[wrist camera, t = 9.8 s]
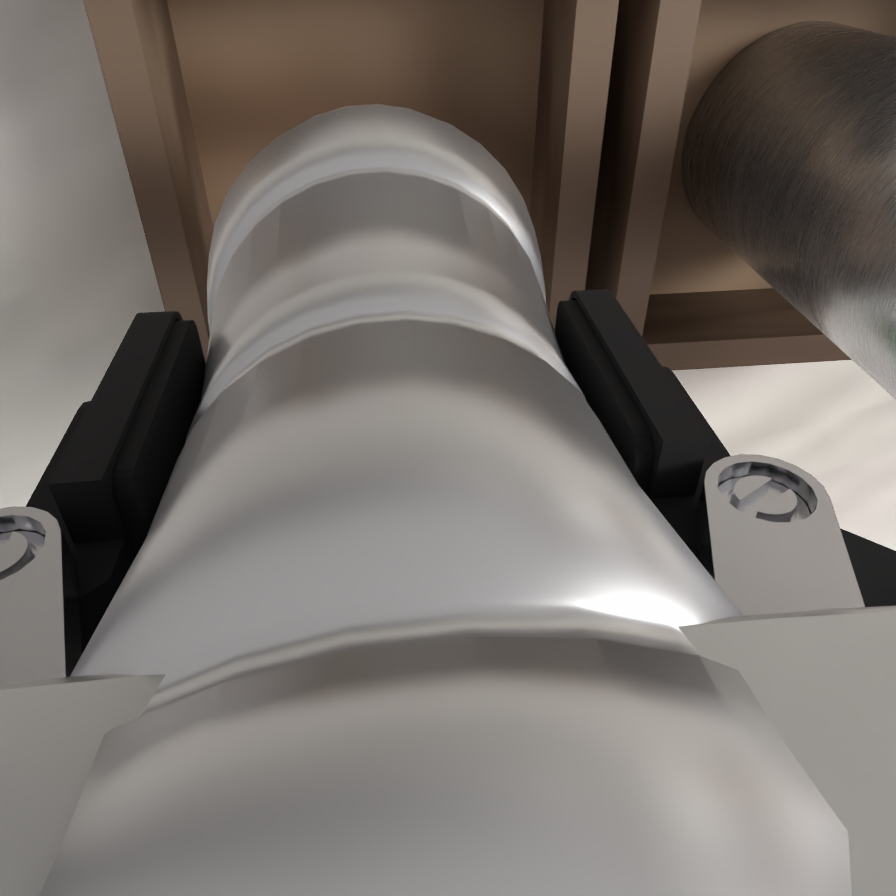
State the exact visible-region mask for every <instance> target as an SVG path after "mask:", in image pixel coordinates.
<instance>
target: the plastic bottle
mask: <svg viewBox="0 0 896 896" xmlns="http://www.w3.org/2000/svg"><path fill="white" fill-rule="evenodd" d="M207 309H208V324H209V331H210V338H209V345H208V352H207V359H206V366H205V373H204V380H203V387H202V394H201V401H200V404H199V406H198V409H197V411H196V414H195V416H194V418H193V421H192V423H191V426H190V428H189V431H188V433H187V436H186V441H185V445H184V447H183V449H182V451H181V453H180V455H179V457H178V459H177V461H176V463H175V466H174V468H173V471H172V474H171V476H170V479H169V481H168V484H167V486H166V489H165V491H164V494H163V496H162V499H161V501H160V504H159V506H158V509H157V511H156V514H155V517H154V519H153V522H152V524H151V527H150V529H149V532H148V534H147V537H146V539H145V541H144V543H143V545H142V547H141V548H140V550H139V552H138V554H137V556H136V557H135V559H134V561H133V563H132V565H131V567H130V568H129V570H128V572H127V574H126V576H125V577H124V579H123V581H122V583H121V585H120V586H119V588H118V590H117V592H116V594H115V596H114V597H113V599H112V601H111V603H110V605H109V606H108V608H107V610H106V612H105V614H104V615H103V617H102V619H101V621H100V623H99V625H98V626H97V628H96V630H95V632H94V634H93V635H92V637H91V639H90V641H89V643H88V644H87V646H86V648H85V650H84V652H83V653H82V655H81V657H80V659H79V661H78V663H77V664H76V666H75V668H74V670H73V672H72V673H71V675H70V677H74V676H84V675H100V674H125V675H133V676H141V675H159V674H166V675H165V677H164V678H163V680H162V682H161V683H160V685H159V687H158V688H157V690H156V692H155V693H154V695H153V697H152V698H151V700H150V701H149V703H148V705H147V706H146V708H145V710H144V711H143V713H142V715H141V716H140V717H139V718H136V719H134V720H131V721H129V722H126V723H124V724H122V725H119V726H117V727H114V728H113V729H111V730H110V731H108V732H107V733H105V734H104V736H103V739H102V741H101V744H100V746H99V749H98V752H97V754H96V757H95V760H94V762H93V765H92V767H91V770H90V773H89V775H88V778H87V780H86V783H85V786H84V788H83V791H82V794H81V796H80V799H79V801H78V804H77V807H76V809H75V812H74V815H73V817H72V820H71V822H70V825H69V828H68V830H67V833H66V835H65V837H64V840H63V842H62V845H61V847H60V849H59V852H58V854H57V856H56V859H55V861H54V863H53V865H52V868H51V870H50V872H49V875H48V877H47V879H46V881H45V884H44V886H43V888H42V890H41V893H40V895H39V896H852V889H851V872H850V856H849V839H848V831H847V829H846V828H845V827H844V825H843V824H842V823H841V821H840V820H839V818H838V817H837V816H836V814H835V813H834V811H833V810H832V809H831V807H830V806H829V804H828V803H827V802H826V800H825V799H824V798H823V796H822V795H821V793H820V792H819V790H818V789H817V788H816V786H815V785H814V783H813V782H812V781H811V779H810V778H809V776H808V775H807V773H806V772H805V771H804V769H803V768H802V766H801V765H800V764H799V762H798V761H797V759H796V758H795V756H794V755H793V754H792V752H791V751H790V749H789V748H788V746H787V745H786V743H785V742H784V740H783V739H782V737H781V736H780V734H779V733H778V731H777V730H776V728H775V727H774V725H773V724H772V722H771V721H770V719H769V717H768V716H767V714H766V713H765V711H764V710H763V708H762V707H761V705H760V704H759V702H758V700H757V699H756V697H755V696H754V694H753V692H752V691H751V689H750V688H749V686H748V685H747V683H746V681H745V680H744V678H743V677H742V675H741V673H740V672H739V670H737V669H734V668H732V667H729V666H726V665H724V664H721V663H718V662H716V661H713V660H710V659H707V658H705V657H702V656H701V655H700V654H699V652H698V651H697V650H696V649H695V648H694V646H693V645H692V644H691V643H690V641H689V640H688V639H687V638H686V636H685V635H684V634H683V633H682V631H681V630H680V629H679V628H678V626H687V625H697V624H703V623H706V622H709V621H713V620H717V619H723V618H728V617H733V616H743V615H742V614H741V613H740V612H739V610H738V609H737V608H736V607H735V605H734V604H733V603H732V602H731V600H730V599H729V598H728V597H727V595H726V594H725V593H724V592H723V590H722V589H721V588H720V587H719V585H718V584H717V583H716V582H715V580H714V579H713V578H712V576H711V575H710V574H709V573H708V571H707V570H706V569H705V568H704V566H703V565H702V564H701V563H700V561H699V560H698V559H697V558H696V556H695V555H694V554H693V553H692V551H691V550H690V549H689V548H688V546H687V545H686V544H685V543H684V541H683V540H682V539H681V538H680V536H679V535H678V534H677V533H676V531H675V530H674V529H673V528H672V526H671V525H670V524H669V523H668V521H667V520H666V519H665V518H664V516H663V515H662V514H661V513H660V511H659V510H658V509H657V508H656V506H655V505H654V504H653V503H652V501H651V500H650V499H649V498H648V496H647V495H646V494H645V493H644V491H643V490H642V489H641V487H640V486H639V485H638V483H637V482H636V480H635V478H634V477H633V475H632V473H631V472H630V470H629V469H628V467H627V465H626V464H625V462H624V460H623V459H622V457H621V455H620V454H619V452H618V450H617V449H616V447H615V445H614V444H613V442H612V440H611V439H610V437H609V435H608V434H607V432H606V430H605V429H604V427H603V425H602V424H601V422H600V420H599V419H598V418H597V416H596V415H595V413H594V412H593V410H592V409H591V408H590V406H589V405H588V403H587V401H586V398H585V396H584V394H583V392H582V391H581V389H580V388H579V386H578V384H577V383H576V381H575V379H574V378H573V376H572V375H571V373H570V371H569V370H568V368H567V366H566V365H565V361H564V358H563V355H562V352H561V349H560V346H559V343H558V340H557V336H556V333H555V330H554V327H553V324H552V321H551V318H550V315H549V312H548V308H547V305H546V293H545V282H544V275H543V268H542V261H541V255H540V251H539V247H538V242H537V238H536V234H535V230H534V226H533V224H532V221H531V218H530V215H529V213H528V210H527V207H526V204H525V202H524V199H523V197H522V195H521V194H520V192H519V190H518V189H517V187H516V185H515V184H514V182H513V181H512V179H511V177H510V176H509V174H508V173H507V171H506V169H505V168H504V167H503V166H502V165H501V164H500V163H499V162H498V161H497V160H496V159H495V158H494V157H493V156H492V155H491V154H490V153H489V152H488V151H487V150H486V149H485V148H484V147H483V146H482V145H481V144H480V143H479V142H477V141H476V140H474V139H472V138H471V137H469V136H468V135H466V134H465V133H463V132H462V131H460V130H459V129H457V128H456V127H454V126H453V125H451V124H449V123H446V122H443V121H441V120H438V119H436V118H433V117H430V116H428V115H425V114H423V113H420V112H417V111H415V110H412V109H409V108H402V107H395V106H389V105H382V104H369V105H355V106H345V107H342V108H338V109H335V110H332V111H328V112H325V113H322V114H318V115H315V116H314V117H312V118H310V119H308V120H306V121H304V122H303V123H301V124H299V125H297V126H296V127H294V128H292V129H290V130H288V131H287V132H285V133H283V134H281V135H280V136H278V137H276V138H275V139H274V140H273V141H272V142H270V143H269V144H268V145H267V146H266V147H265V148H264V149H263V150H262V151H260V152H259V153H258V154H257V155H256V156H255V157H254V158H253V159H252V160H250V161H249V162H248V164H247V165H246V167H245V168H244V169H243V171H242V172H241V174H240V175H239V176H238V178H237V179H236V181H235V182H234V184H233V185H232V186H231V188H230V189H229V191H228V193H227V195H226V197H225V200H224V202H223V205H222V207H221V209H220V212H219V214H218V216H217V219H216V221H215V224H214V230H213V235H212V241H211V246H210V251H209V259H208V275H207Z"/></svg>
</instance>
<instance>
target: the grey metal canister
mask: <svg viewBox="0 0 896 896" xmlns="http://www.w3.org/2000/svg"><path fill="white" fill-rule="evenodd" d="M681 170H682V181H683V187H684V190H685V194H686V197H687V200H688V202H689V204H690V206H691V209H692V210H693V212H694V213H695V215H696V216H697V218H698V219H699V220H700V221H701V222H702V223H703V224H704V225H705V226H706V227H707V228H708V229H709V230H710V231H711V232H713V233H714V234H715V235H716V236H717V237H718V238H719V239H720V240H721V241H722V242H723V243H725V244H726V245H727V246H728V247H729V248H730V249H731V250H732V251H733V252H734V253H736V254H737V255H738V256H739V257H740V258H741V259H742V260H743V261H744V262H745V263H746V264H748V265H749V266H750V267H751V268H752V269H753V270H754V271H755V272H756V273H757V274H759V275H760V276H761V277H762V278H763V279H764V280H765V281H766V282H767V283H768V284H770V285H771V286H772V287H773V288H774V289H775V290H776V291H777V292H778V293H779V294H780V295H782V296H783V297H784V298H785V299H786V300H787V301H788V302H789V303H790V304H791V305H793V306H794V307H795V308H796V309H797V310H798V311H799V312H800V313H801V314H802V315H804V316H805V317H806V318H807V319H808V320H809V321H810V322H811V323H812V324H813V325H814V326H816V327H817V328H818V329H819V330H820V331H821V332H822V333H823V334H824V335H825V336H827V337H828V338H829V339H830V340H831V341H832V342H833V343H834V344H835V345H836V346H838V347H839V348H840V349H841V350H842V351H843V352H844V353H845V354H846V355H847V356H848V357H850V358H851V359H852V360H853V361H854V362H855V363H856V364H857V365H858V366H859V367H861V368H862V369H863V370H864V371H865V372H866V373H867V374H868V375H869V376H870V377H871V378H873V379H874V380H875V381H876V382H877V383H878V384H879V385H880V386H881V387H882V388H884V389H885V390H886V391H887V392H888V393H889V394H890V395H891V396H892V397H893V398H895V399H896V37H892V36H888V35H884V34H880V33H876V32H872V31H868V30H864V29H860V28H856V27H852V26H848V25H843V24H839V23H835V22H831V21H807V22H800V23H796V24H792V25H788V26H785V27H782V28H780V29H777V30H775V31H772V32H770V33H768V34H766V35H765V36H763V37H761V38H759V39H757V40H756V41H754V42H753V43H751V44H750V45H749V46H747V47H746V48H744V49H743V50H742V51H741V52H739V53H738V54H737V55H736V56H735V57H734V58H733V59H731V60H730V61H729V62H728V63H727V65H726V66H725V67H724V68H723V69H722V70H721V71H720V72H719V73H718V74H717V76H716V77H715V78H714V80H713V81H712V82H711V83H710V85H709V86H708V88H707V89H706V91H705V92H704V94H703V96H702V97H701V99H700V101H699V103H698V105H697V107H696V109H695V111H694V113H693V115H692V117H691V120H690V123H689V126H688V128H687V132H686V136H685V140H684V144H683V151H682V159H681Z"/></svg>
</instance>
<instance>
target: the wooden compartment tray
mask: <svg viewBox="0 0 896 896" xmlns="http://www.w3.org/2000/svg"><path fill="white" fill-rule="evenodd" d="M84 4H85V8H86V12H87V15H88V19H89V23H90V27H91V31H92V34H93V38H94V42H95V46H96V50H97V53H98V57H99V61H100V65H101V69H102V72H103V76H104V80H105V84H106V88H107V91H108V95H109V99H110V103H111V107H112V110H113V114H114V118H115V122H116V126H117V129H118V133H119V137H120V141H121V145H122V148H123V152H124V156H125V160H126V164H127V167H128V171H129V175H130V179H131V183H132V186H133V190H134V194H135V198H136V202H137V205H138V209H139V213H140V217H141V221H142V224H143V228H144V232H145V236H146V240H147V243H148V247H149V251H150V255H151V259H152V262H153V266H154V270H155V274H156V278H157V281H158V285H159V289H160V293H161V297H162V300H163V304H164V308H165V312H169V311H178V312H179V313H180V314H181V317H182V319H183V321H184V320H193V321H194V322H195V324H196V326H197V329H198V333H199V337H200V341H201V346H202V350H203V354H204V358H205V362H206V359H207V352H208V345H209V338H210V331H209V324H208V309H207V275H208V259H209V251H210V246H211V241H212V235H213V230H214V224H215V221H216V219H217V216H218V214H219V212H220V209H221V207H222V205H223V202H224V200H225V197H226V195H227V193H228V191H229V189H230V188H231V186H232V185H233V184H234V182H235V181H236V179H237V178H238V176H239V175H240V174H241V172H242V171H243V169H244V168H245V167H246V165H247V164H248V162H249V161H250V160H252V159H253V158H254V157H255V156H256V155H257V154H258V153H259V152H260V151H262V150H263V149H264V148H265V147H266V146H267V145H268V144H269V143H270V142H272V141H273V140H274V139H275V138H276V137H278V136H280V135H281V134H283V133H285V132H287V131H288V130H290V129H292V128H294V127H296V126H297V125H299V124H301V123H303V122H304V121H306V120H308V119H310V118H312V117H314V116H315V115H318V114H322V113H325V112H328V111H332V110H335V109H338V108H342V107H345V106H355V105H369V104H382V105H389V106H395V107H402V108H409V109H412V110H415V111H417V112H420V113H423V114H425V115H428V116H430V117H433V118H436V119H438V120H441V121H443V122H446V123H449V124H451V125H453V126H454V127H456V128H457V129H459V130H460V131H462V132H463V133H465V134H466V135H468V136H469V137H471V138H472V139H474V140H476V141H477V142H479V143H480V144H481V145H482V146H483V147H484V148H485V149H486V150H487V151H488V152H489V153H490V154H491V155H492V156H493V157H494V158H495V159H496V160H497V161H498V162H499V163H500V164H501V165H502V166H503V167H504V168H505V169H506V171H507V173H508V174H509V176H510V177H511V179H512V181H513V182H514V184H515V185H516V187H517V189H518V190H519V192H520V194H521V195H522V197H523V199H524V202H525V204H526V207H527V210H528V213H529V215H530V218H531V221H532V224H533V226H534V230H535V234H536V238H537V242H538V247H539V251H540V255H541V261H542V268H543V275H544V282H545V293H546V305H547V308H548V312H549V315H550V318H551V321H552V324H553V327H554V330H555V324H556V314H557V307H558V303H559V302H560V301H567V300H569V298H570V295H571V293H572V291H580V290H600V289H609V290H610V291H611V292H612V293H613V295H614V296H615V298H616V299H617V301H618V302H619V304H620V305H621V307H622V308H623V310H624V311H625V313H626V314H627V316H628V317H629V318H630V320H631V321H632V323H633V324H634V326H635V327H636V329H637V330H638V332H639V333H640V335H641V336H642V338H643V339H644V341H645V342H646V344H647V345H648V347H649V348H650V350H651V351H652V353H653V354H654V356H655V357H656V358H657V360H658V361H659V363H660V364H661V366H663V367H668V368H669V369H670V370H687V369H704V368H720V367H737V366H754V365H770V364H787V363H804V362H820V361H837V360H852V359H851V358H850V357H848V356H847V355H846V354H845V353H844V352H843V351H842V350H841V349H840V348H839V347H838V346H836V345H835V344H834V343H833V342H832V341H831V340H830V339H829V338H828V337H827V336H825V335H824V334H823V333H822V332H821V331H820V330H819V329H818V328H817V327H816V326H814V325H813V324H812V323H811V322H810V321H809V320H808V319H807V318H806V317H805V316H804V315H802V314H801V313H800V312H799V311H798V310H797V309H796V308H795V307H794V306H793V305H791V304H790V303H789V302H788V301H787V300H786V299H785V298H784V297H783V296H782V295H780V294H779V293H778V292H777V291H776V290H775V289H774V288H773V287H772V286H771V285H770V284H768V283H767V282H766V281H765V280H764V279H763V278H762V277H761V276H760V275H759V274H757V273H756V272H755V271H754V270H753V269H752V268H751V267H750V266H749V265H748V264H746V263H745V262H744V261H743V260H742V259H741V258H740V257H739V256H738V255H737V254H736V253H734V252H733V251H732V250H731V249H730V248H729V247H728V246H727V245H726V244H725V243H723V242H722V241H721V240H720V239H719V238H718V237H717V236H716V235H715V234H714V233H713V232H711V231H710V230H709V229H708V228H707V227H706V226H705V225H704V224H703V223H702V222H701V221H700V220H699V219H698V218H697V216H696V215H695V213H694V212H693V210H692V209H691V206H690V204H689V202H688V200H687V197H686V194H685V190H684V187H683V181H682V170H681V159H682V151H683V144H684V140H685V136H686V132H687V128H688V126H689V123H690V120H691V117H692V115H693V113H694V111H695V109H696V107H697V105H698V103H699V101H700V99H701V97H702V96H703V94H704V92H705V91H706V89H707V88H708V86H709V85H710V83H711V82H712V81H713V80H714V78H715V77H716V76H717V74H718V73H719V72H720V71H721V70H722V69H723V68H724V67H725V66H726V65H727V63H728V62H729V61H730V60H731V59H733V58H734V57H735V56H736V55H737V54H738V53H739V52H741V51H742V50H743V49H744V48H746V47H747V46H749V45H750V44H751V43H753V42H754V41H756V40H757V39H759V38H761V37H763V36H765V35H766V34H768V33H770V32H772V31H775V30H777V29H780V28H782V27H785V26H788V25H792V24H796V23H800V22H807V21H831V22H835V23H839V24H843V25H848V26H852V27H856V28H860V29H864V30H868V31H872V32H876V33H880V34H884V35H888V36H892V37H896V0H84Z"/></svg>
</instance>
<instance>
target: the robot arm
mask: <svg viewBox="0 0 896 896" xmlns="http://www.w3.org/2000/svg"><path fill="white" fill-rule="evenodd" d="M555 333H556V336H557V340H558V343H559V346H560V349H561V352H562V355H563V358H564V361H565V365H566V366H567V368H568V370H569V371H570V373H571V375H572V376H573V378H574V379H575V381H576V383H577V384H578V386H579V388H580V389H581V391H582V392H583V394H584V396H585V398H586V401H587V403H588V405H589V406H590V408H591V409H592V410H593V412H594V413H595V415H596V416H597V418H598V419H599V420H600V422H601V424H602V425H603V427H604V429H605V430H606V432H607V434H608V435H609V437H610V439H611V440H612V442H613V444H614V445H615V447H616V449H617V450H618V452H619V454H620V455H621V457H622V459H623V460H624V462H625V464H626V465H627V467H628V469H629V470H630V472H631V473H632V475H633V477H634V478H635V480H636V482H637V483H638V485H639V486H640V487H641V489H642V490H643V491H644V493H645V494H646V495H647V496H648V498H649V499H650V500H651V501H652V503H653V504H654V505H655V506H656V508H657V509H658V510H659V511H660V513H661V514H662V515H663V516H664V518H665V519H666V520H667V521H668V523H669V524H670V525H671V526H672V528H673V529H674V530H675V531H676V533H677V534H678V535H679V536H680V538H681V539H682V540H683V541H684V543H685V544H686V545H687V546H688V548H689V549H690V550H691V551H692V553H693V554H694V555H695V556H696V558H697V559H698V560H699V561H700V563H701V564H702V565H703V566H704V568H705V569H706V570H707V571H708V573H709V574H710V575H711V576H712V578H713V579H714V580H715V582H716V583H717V584H718V585H719V587H720V588H721V589H722V590H723V592H724V593H725V594H726V595H727V597H728V598H729V599H730V600H731V602H732V603H733V604H734V605H735V607H736V608H737V609H738V610H739V612H740V613H741V614H742V615H743V616H733V617H728V618H723V619H717V620H713V621H709V622H706V623H703V624H697V625H687V626H678V628H679V629H680V630H681V631H682V633H683V634H684V635H685V636H686V638H687V639H688V640H689V641H690V643H691V644H692V645H693V646H694V648H695V649H696V650H697V651H698V652H699V654H700V655H701V656H702V657H705V658H707V659H710V660H713V661H716V662H718V663H721V664H724V665H726V666H729V667H732V668H734V669H737V670H739V672H740V673H741V675H742V677H743V678H744V680H745V681H746V683H747V685H748V686H749V688H750V689H751V691H752V692H753V694H754V696H755V697H756V699H757V700H758V702H759V704H760V705H761V707H762V708H763V710H764V711H765V713H766V714H767V716H768V717H769V719H770V721H771V722H772V724H773V725H774V727H775V728H776V730H777V731H778V733H779V734H780V736H781V737H782V739H783V740H784V742H785V743H786V745H787V746H788V748H789V749H790V751H791V752H792V754H793V755H794V756H795V758H796V759H797V761H798V762H799V764H800V765H801V766H802V768H803V769H804V771H805V772H806V773H807V775H808V776H809V778H810V779H811V781H812V782H813V783H814V785H815V786H816V788H817V789H818V790H819V792H820V793H821V795H822V796H823V798H824V799H825V800H826V802H827V803H828V804H829V806H830V807H831V809H832V810H833V811H834V813H835V814H836V816H837V817H838V818H839V820H840V821H841V823H842V824H843V825H844V827H845V828H846V829H847V831H848V839H849V856H850V872H851V889H852V896H896V551H894V550H892V549H889V548H887V547H884V546H882V545H879V544H877V543H875V542H872V541H870V540H867V539H865V538H862V537H860V536H857V535H855V534H853V533H850V532H848V531H845V530H843V529H840V527H839V524H838V521H837V517H836V514H835V511H834V508H833V505H832V502H831V499H830V497H829V495H828V493H827V492H826V490H825V488H824V486H823V485H822V484H821V483H820V482H818V481H817V480H816V479H815V478H814V477H813V476H812V475H811V474H809V473H807V472H806V471H804V470H802V469H801V468H799V467H797V466H796V465H793V464H790V463H788V462H785V461H782V460H780V459H777V458H772V457H767V456H762V455H746V454H740V455H735V456H730V454H729V453H728V451H727V450H726V448H725V447H724V446H723V444H722V443H721V441H720V440H719V438H718V437H717V435H716V434H715V433H714V431H713V430H712V428H711V427H710V425H709V424H708V422H707V421H706V420H705V418H704V417H703V415H702V414H701V412H700V411H699V409H698V408H697V406H696V405H695V404H694V402H693V401H692V399H691V398H690V396H689V395H688V393H687V392H686V391H685V389H684V388H683V386H682V385H681V383H680V382H679V380H678V379H677V377H676V376H675V375H674V373H673V372H672V371H671V370H670V369H669V368H668V367H663V366H661V364H660V363H659V361H658V360H657V358H656V357H655V356H654V354H653V353H652V351H651V350H650V348H649V347H648V345H647V344H646V342H645V341H644V339H643V338H642V336H641V335H640V333H639V332H638V330H637V329H636V327H635V326H634V324H633V323H632V321H631V320H630V318H629V317H628V316H627V314H626V313H625V311H624V310H623V308H622V307H621V305H620V304H619V302H618V301H617V299H616V298H615V296H614V295H613V293H612V292H611V291H610V290H609V289H600V290H580V291H572V293H571V295H570V298H569V300H567V301H560V302H559V303H558V307H557V314H556V324H555ZM205 366H206V362H205V358H204V354H203V350H202V346H201V341H200V337H199V333H198V329H197V326H196V324H195V322H194V321H193V320H184V321H183V319H182V317H181V314H180V313H179V312H178V311H169V312H150V313H138V314H137V315H136V316H135V318H134V320H133V322H132V324H131V326H130V328H129V329H128V331H127V333H126V335H125V337H124V339H123V341H122V343H121V345H120V347H119V349H118V350H117V352H116V354H115V356H114V358H113V360H112V362H111V364H110V366H109V368H108V370H107V371H106V373H105V375H104V377H103V379H102V381H101V383H100V385H99V387H98V389H97V391H96V393H95V394H94V396H93V398H92V400H91V401H88V402H84V403H83V404H82V405H81V406H80V408H79V409H78V411H77V413H76V415H75V416H74V418H73V420H72V422H71V424H70V426H69V428H68V429H67V431H66V433H65V435H64V437H63V439H62V440H61V442H60V444H59V446H58V448H57V450H56V452H55V453H54V455H53V457H52V459H51V461H50V463H49V465H48V466H47V468H46V470H45V472H44V474H43V476H42V478H41V479H40V481H39V483H38V485H37V487H36V489H35V490H34V492H33V494H32V496H31V498H30V500H29V502H28V503H27V505H26V507H8V508H2V509H0V896H39V895H40V893H41V890H42V888H43V886H44V884H45V881H46V879H47V877H48V875H49V872H50V870H51V868H52V865H53V863H54V861H55V859H56V856H57V854H58V852H59V849H60V847H61V845H62V842H63V840H64V837H65V835H66V833H67V830H68V828H69V825H70V822H71V820H72V817H73V815H74V812H75V809H76V807H77V804H78V801H79V799H80V796H81V794H82V791H83V788H84V786H85V783H86V780H87V778H88V775H89V773H90V770H91V767H92V765H93V762H94V760H95V757H96V754H97V752H98V749H99V746H100V744H101V741H102V739H103V736H104V734H105V733H107V732H108V731H110V730H111V729H113V728H114V727H117V726H119V725H122V724H124V723H126V722H129V721H131V720H134V719H136V718H139V717H140V716H141V715H142V713H143V711H144V710H145V708H146V706H147V705H148V703H149V701H150V700H151V698H152V697H153V695H154V693H155V692H156V690H157V688H158V687H159V685H160V683H161V682H162V680H163V678H164V677H165V675H166V674H159V675H141V676H133V675H125V674H100V675H84V676H74V677H70V675H71V673H72V672H73V670H74V668H75V666H76V664H77V663H78V661H79V659H80V657H81V655H82V653H83V652H84V650H85V648H86V646H87V644H88V643H89V641H90V639H91V637H92V635H93V634H94V632H95V630H96V628H97V626H98V625H99V623H100V621H101V619H102V617H103V615H104V614H105V612H106V610H107V608H108V606H109V605H110V603H111V601H112V599H113V597H114V596H115V594H116V592H117V590H118V588H119V586H120V585H121V583H122V581H123V579H124V577H125V576H126V574H127V572H128V570H129V568H130V567H131V565H132V563H133V561H134V559H135V557H136V556H137V554H138V552H139V550H140V548H141V547H142V545H143V543H144V541H145V539H146V537H147V534H148V532H149V529H150V527H151V524H152V522H153V519H154V517H155V514H156V511H157V509H158V506H159V504H160V501H161V499H162V496H163V494H164V491H165V489H166V486H167V484H168V481H169V479H170V476H171V474H172V471H173V468H174V466H175V463H176V461H177V459H178V457H179V455H180V453H181V451H182V449H183V447H184V445H185V441H186V436H187V433H188V431H189V428H190V426H191V423H192V421H193V418H194V416H195V414H196V411H197V409H198V406H199V404H200V401H201V394H202V387H203V380H204V373H205Z"/></svg>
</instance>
